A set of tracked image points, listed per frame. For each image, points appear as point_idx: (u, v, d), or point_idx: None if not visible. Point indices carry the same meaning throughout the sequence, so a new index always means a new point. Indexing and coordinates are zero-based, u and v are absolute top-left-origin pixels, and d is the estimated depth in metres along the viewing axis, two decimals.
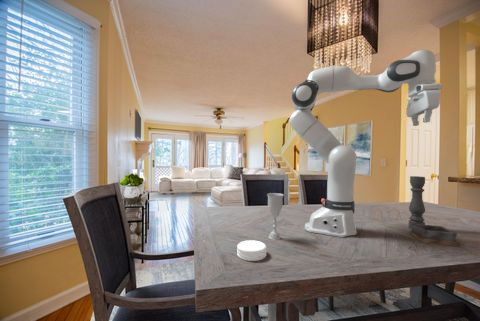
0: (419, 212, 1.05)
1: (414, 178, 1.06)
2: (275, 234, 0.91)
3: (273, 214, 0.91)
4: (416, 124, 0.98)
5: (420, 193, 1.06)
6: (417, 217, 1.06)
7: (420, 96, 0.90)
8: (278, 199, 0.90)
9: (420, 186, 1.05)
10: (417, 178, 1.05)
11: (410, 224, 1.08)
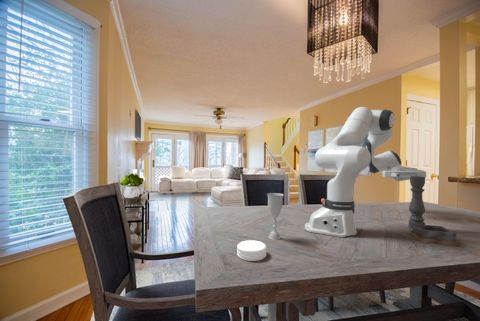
0: (419, 212, 1.05)
1: (414, 178, 1.06)
2: (275, 234, 0.91)
3: (273, 214, 0.91)
4: None
5: (420, 193, 1.06)
6: (417, 217, 1.06)
7: (410, 170, 1.27)
8: (278, 199, 0.90)
9: (420, 186, 1.05)
10: (417, 178, 1.05)
11: (410, 224, 1.08)
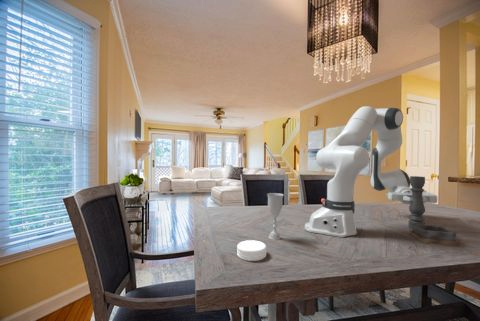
0: (419, 212, 1.05)
1: (414, 178, 1.06)
2: (275, 234, 0.91)
3: (273, 214, 0.91)
4: None
5: (420, 193, 1.06)
6: (417, 217, 1.06)
7: None
8: (278, 199, 0.90)
9: (420, 186, 1.05)
10: (417, 178, 1.05)
11: (410, 224, 1.08)
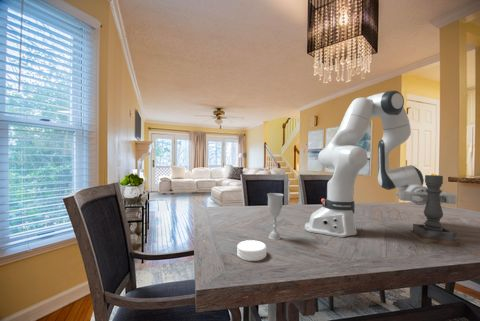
0: (436, 216, 0.91)
1: (430, 177, 0.92)
2: (275, 234, 0.91)
3: (273, 214, 0.91)
4: None
5: (437, 195, 0.91)
6: (434, 222, 0.92)
7: None
8: (278, 199, 0.90)
9: (437, 186, 0.91)
10: (434, 177, 0.91)
11: None
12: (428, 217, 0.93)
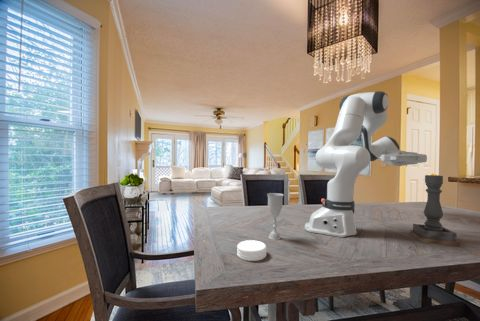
0: (436, 216, 0.91)
1: (430, 177, 0.92)
2: (275, 234, 0.91)
3: (273, 214, 0.91)
4: None
5: (437, 195, 0.91)
6: (434, 222, 0.92)
7: (409, 154, 1.22)
8: (278, 199, 0.90)
9: (437, 186, 0.91)
10: (434, 177, 0.91)
11: None
12: (428, 217, 0.93)
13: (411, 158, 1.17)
